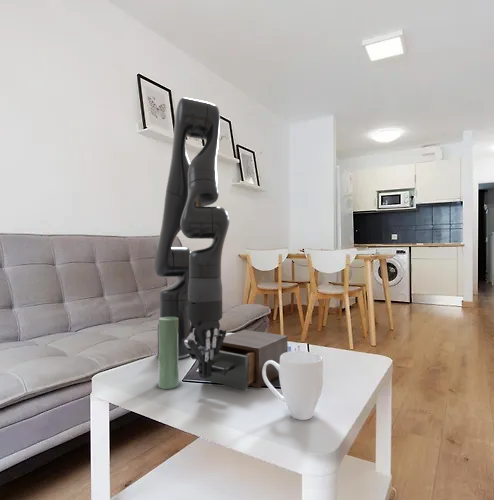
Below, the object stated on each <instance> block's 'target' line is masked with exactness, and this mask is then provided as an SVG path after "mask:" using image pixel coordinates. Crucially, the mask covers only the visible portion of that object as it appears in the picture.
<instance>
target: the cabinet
mask: <svg viewBox="0 0 494 500" xmlns="http://www.w3.org/2000/svg"><path fill="white" fill-rule="evenodd" d="M288 338H289V337H288V335H283V334H277V333H271V332H264V331H258V330H257V331H256V330H251V329H250V330H249V329H242V330H239V331H236V332H233V333H230V334H226V336H225V338H224V340H223V343H222V345H223V346H228V347H233V348H239V349H244V350H250V351H255V352H256V380H255V381H254V382H252V383H250V384H248V387H253V388H257V389H260V388H262V387H263V386H265V385H266V383H265V382H264V380H263V376H262V369H263V366H264V364H265V363H266V362H267V361H269V360H273V361H275V362H276V363H278V364H279V365H280V356H281V355H282V354H283V353H286V352H289V351H288V350H289V349H288V345H289V343H288V341H289V340H288ZM266 376H267V379H268V381H269V382H270V383H271V382H272V381H273V380H275V379H276V378H279V371H278V370H277V369H276V367H275V366H274V365H272V364H268V365H267V366H266Z"/></svg>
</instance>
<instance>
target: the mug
mask: <svg viewBox="0 0 494 500" xmlns="http://www.w3.org/2000/svg"><path fill="white" fill-rule="evenodd" d="M268 364H272V365H274V366H275V367H276V369H277V370H278V371H279V376H278V379H279V386H280V390H281V393H280V392H279V391H278V390H277V389H276V388H275V387H274V386H273V384H272V383H271V381H270V382H269V381H268V379H267V376H266V366H267V365H268ZM262 376H263V380H264V382H265V383H266V384H265V385H266V386H267V388H268V389H269V390H270V391H271V392H272V393H273V394H274V395H275V396H276V397H277V398H278V399H279V400H281V401H282V402H284V403H285V404H286V407H287V410H288V412H289V415H290V417H291V418H293V419H295V420H299V421H306V420H310V419H312V418H313V415H314V414H315V411H316V408H317V405H318V402H319V399H320V397H321V394H322V392H323V391H322V390H323V386H324V360H323V357H322V356H321V354H319V353H315V352H312V351H306V350H291V351H288V352H286V353H283V354H282V355H281V356H280V365H279V364H278V363H276V362H275V361H273V360H269V361H267V362H266V363H265V364H264V366H263V369H262Z"/></svg>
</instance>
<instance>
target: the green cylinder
mask: <svg viewBox="0 0 494 500" xmlns="http://www.w3.org/2000/svg"><path fill="white" fill-rule="evenodd" d="M158 324H159V355H158V387H159V388H160V389H162V390H171V389H175V388H177V387H178V386H179V359H178V318H177V317H161V318H160V317H159V318H158Z"/></svg>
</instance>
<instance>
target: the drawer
mask: <svg viewBox="0 0 494 500" xmlns="http://www.w3.org/2000/svg"><path fill="white" fill-rule="evenodd" d="M197 369H198V370H199V364H197ZM201 379H202V380H205V381H208V382H212V383H215V384H220V385H224V386H228V387H232V388H235V389H239V390H243V391H247V390H248V389H249V385H248V384H250V383H252V382H254V381H255V380H256V352H255V351H250V350H244V349H239V348H233V347H228V346H223V345H221V348H220V350H219V353H218V354H217V355H214V358H213V359H212V373H211V377H209V378H206V379H205V378H201Z"/></svg>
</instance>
